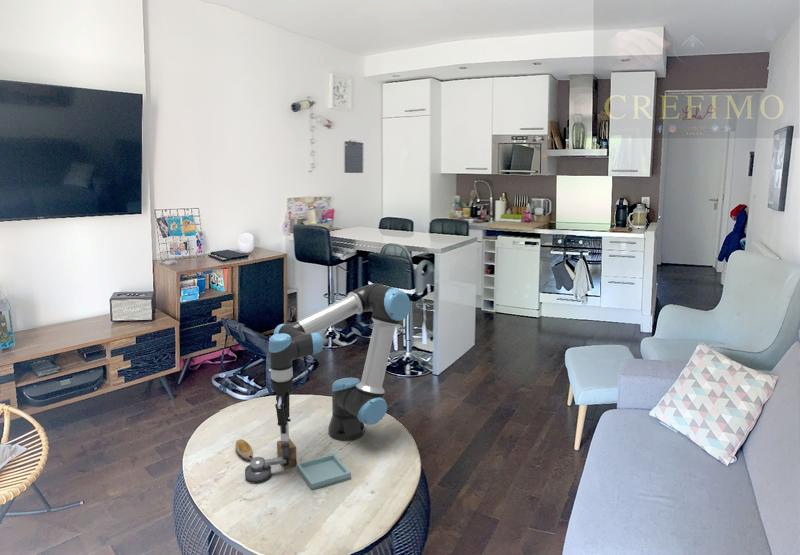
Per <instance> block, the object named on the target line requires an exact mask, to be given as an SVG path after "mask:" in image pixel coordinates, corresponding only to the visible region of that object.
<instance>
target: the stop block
mask: <svg viewBox="0 0 800 555" xmlns="http://www.w3.org/2000/svg"><path fill="white" fill-rule="evenodd" d="M282 443H289V465H288V466H283V464H279V465H280V466H281V468H282V469H283V470H288V469H292V468H294V467H296V464H297V446H296V444H295V443H294V442H293V441H292V439H291V438H290V437H289V441H281V440H279V441H278V440H277V441H276V449H277V450H276V454H277V457H276V458H278V457H282V448H281V446H280V444H282Z"/></svg>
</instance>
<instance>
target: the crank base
mask: <svg viewBox="0 0 800 555" xmlns="http://www.w3.org/2000/svg"><path fill="white" fill-rule="evenodd" d="M271 477H272V467H271V466H266V467H265V469H264V470H262V471H260V472H253V471H251V464H248V465H247V466H246V467H245V469H244V478H245V481H246V482H247V483H250V484H253V485H254V484H263V483H265V482H267V481H269V479H271Z"/></svg>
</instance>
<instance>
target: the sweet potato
mask: <svg viewBox="0 0 800 555" xmlns="http://www.w3.org/2000/svg"><path fill="white" fill-rule="evenodd" d="M235 450H236V452H237V453H238V455H239V456H240V457H241V458H242V459H245V460H247V461H248V460H249V461H251V459H253V456H254V452H253V448H252V446H251V445H250V444H249V443H248V442H247V441H246V440H245V439H242V438H241V439H238V440H236V442H235Z"/></svg>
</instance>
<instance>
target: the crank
mask: <svg viewBox="0 0 800 555" xmlns="http://www.w3.org/2000/svg"><path fill="white" fill-rule="evenodd" d="M280 446H281V448H282V457H278V458H277V457H271V458H267V459H265V457H262V456H255V457H252V458H251V459H250V460H249V461H250V462H249V463H250V464H251V471H253V472H260V471H262V470H264V469H265V467H266V466H277V465H280V464H283V466H288V465H289V443H282V444H280ZM250 464H249V465H250Z"/></svg>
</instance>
